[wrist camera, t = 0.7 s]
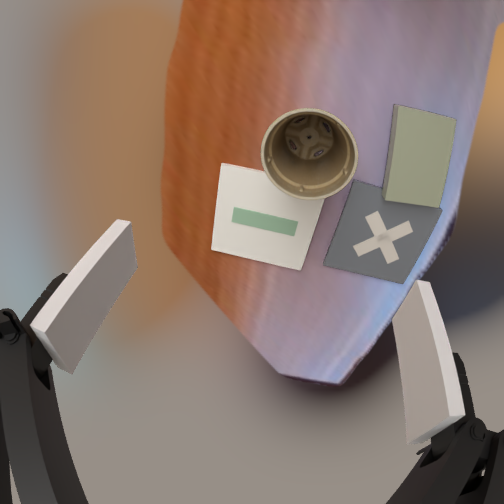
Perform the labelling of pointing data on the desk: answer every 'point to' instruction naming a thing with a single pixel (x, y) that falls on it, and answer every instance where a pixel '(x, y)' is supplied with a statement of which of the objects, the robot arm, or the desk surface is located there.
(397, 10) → the desk surface
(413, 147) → the notebook
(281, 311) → the desk surface
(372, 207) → the pad
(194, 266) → the desk surface
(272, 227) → the pad
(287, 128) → the flower pot
